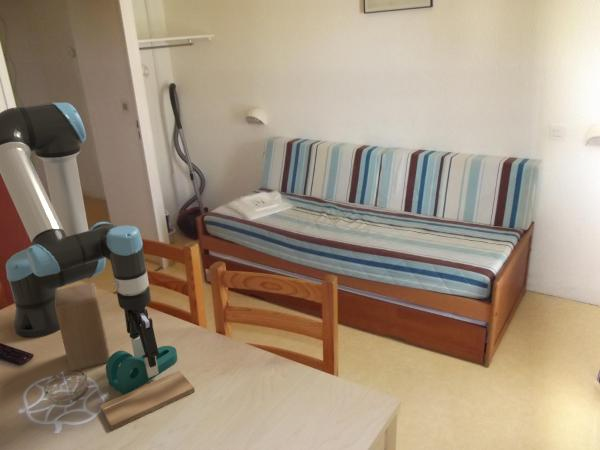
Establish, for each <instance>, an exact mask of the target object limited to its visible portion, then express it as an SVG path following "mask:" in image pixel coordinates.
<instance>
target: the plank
mask: <svg viewBox="0 0 600 450" xmlns="http://www.w3.org/2000/svg"><path fill="white" fill-rule="evenodd" d="M194 392H195V387H194V386H193V384H192V383H190V381H189V380H188V379H187V378H186V377H185V375H184V374H183V373H182V372H181V371H180V370H177V371H175V372H173V373H171V374H168V375H166V376H164V377H161V378H159V379H156V380H154V381H152V382H150V383H148V384H147V383H146V384H145V385H142V386H140V387H138V388H137V389H135V390H133V391H131V392H129V393H127V394H124V395H123V394H122V395H120V396H118V397H115V398H113V399H110V400H109V401H106V402H104V403H102V404H100V405H99V407H100V411H101V412H102V414H103V416H104V418H105V419H106V421H107V423H108V424H109V426H110V428H111V431H113V430H115V429H118V428H120V427H122V426H124V425H126V424H129V423H131V422H133V421H135V420H138V419H140V418H141V417H143V416H146V415H148V414H150V413H152V412H153V411H156V410H158V409H161V408H163V407H165V406H167V405H170V404H171V403H173V402H176V401H177V400H179V399H182V398H184V397H186V396H188V395H190V394H192V393H194Z"/></svg>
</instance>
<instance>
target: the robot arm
mask: <svg viewBox="0 0 600 450" xmlns="http://www.w3.org/2000/svg"><path fill="white" fill-rule="evenodd" d="M86 133H87V132H86V129H85V126H84V124H83V120H82V118H81V116H80V114H79V113H78V111H77V109H76V108H75V107H74V106H73V105H72V104H70V103H69V102H48V103H41V104H34V105H27V106H26V105H25V106H19V107H18V106H16V107H15V106H14V107H11V108H7V109H5V110H3V111H1V112H0V176H1V177H2V180H3V183H4V185H5V187H6V189H7V192H8V194H9V196H10V197H11V200H12V202H13V204H14V207H15V208H16V211H17V213H18V216H19V218H20V220H21V222H22V225H23V227H24V229H25V231H26V234H27V235H28V237H29V240H30V242H31V245H30V246H29V247H27V248H25V249H23V250H20V251H19V252H16V253H14V254H13V255H12V256H11V257H10V258H9V259H7V261H6V263H5V271H6V279H7V281H8V283H9V286H10V290H11V295H12V299H13V302H14V306H15V313H14V322H13V327H14V331H15V333H16V335H18V336H19V337H23V338H30V339H32V338H38V337H45V336H47V335H50V334H53V333H55V332H57V331H60V327H59V323H58V318H57V314H56V310H55V292H56V291H57V290H58V289H59V288H62V287H64V286H65V287H66V286H68V285H71V284H75V283H76V282H81V281H83V280H86V279H88V280H89V279H92V278H93V277H95V276H98V275H100V274H101V273H103V271H104V270H105V267H106V260H109V261H110V264H111V268H112V274H113V278H114V281H113V282H112V285H113V286H115V289H116V292H117V293H116V295H117V302H118V306H119V307H120V308H121V309H122V310H123V311H124V318H125V327H126V332H127V334H129V337H130V340H131V345H132V352H133V357H136V358H138V359H140V358H141V357H143V358H144V360H145V366H146V372H147V377H148V378H150V377H152V376H155V375H156V376H158V375H159V372H158V366H157V360H156V355H159V352H158V345H157V340H156V336H155V331H154V324H153V323H154V322H153V319H152V317H150V318H149V313H148V310H147V309H146V307H147V306H148V305H149V304H150V302H151V301H152V297H151V290H150V287H149V285H150V282H149V276H148V270H147V266H146V261H145V260H146V259H145V253H144V247H143V244H144V243H143V239H142V236H141V233H140V230H139V228H138V227H137V226H134V225H128V224H126V225H115V224H113V223H110V222H109V221H99V222H96V223H95V224H93V225H92V226H91V227H90V228H89V225H88V220H87V213H86V207H85V202H84V197H83V191H82V184H81V179H80V174H79V168H78V167H79V166H78V163H77V162H78V161H77V156H78V155H79V154H80V153H81V146H80V145H81V144H83V143H85V142H86V140H87V134H86ZM32 152H34V154H35V157H36V158H38V159H40V160H41V161H42V163H43V168H44V173H45V177H46V183H47V188H48V193H47V192H46V189H45V187H44V184H43V183H42V181H41V179H40V177H39V175H38V172H37V170H36V169H35V166H34V165H33V162H32V160H31V158H30V157H31V155H32ZM48 194H49V195H48ZM157 374H158V375H157ZM156 376H155V377H156Z"/></svg>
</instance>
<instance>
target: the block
mask: <svg viewBox="0 0 600 450" xmlns="http://www.w3.org/2000/svg"><path fill="white" fill-rule="evenodd" d="M55 310H56V314H57V318H58V323H59V327H60V329H59V331H60V334H61V339H62V343H63V346H64V350H65V355H66V358H67V362H68V363H67V365H68V368H69V369H70V371H72V372H75V371H79V370H83V369H87V368H90V367H94V366H99V365H102V364H107V361H108V359H109V358H110V357H111V355H110V351H109V345H108V341H107V334H106V329H105V325H104V321H103V320H104V319H103V315H102V311H101V306H100V300H99V296H98V290H97V287H96V284H95V283H94V282H89V283H84V284H79V285H74V286H69V287H65V288H60V289H59V288H58V289H57V291H56V292H55Z"/></svg>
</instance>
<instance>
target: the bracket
mask: <svg viewBox="0 0 600 450" xmlns="http://www.w3.org/2000/svg"><path fill="white" fill-rule="evenodd" d="M157 348H158V352H159V355H156V360H157V366H158V372H159V374H161V373H162V372H164V371H166V370H167V369H169V368H170V367H172V366H174V365H175V363H176V362H177V361H178V353H177V349H176V348H175V347H174V346H172V345H162V346H159V347H158V346H157ZM105 373H106V377H107V381H108V382H107V383H108V386H109V387H111V388H112V389H114V390H115V391H117V392H118V393H121V394H122V395H124V394H127V393H129V392H131V391H133V390H136V389H138V388H140V387H142V386H144V384H147V382H149V381H150V380H152V379H154V378H155V377H156V376H158V375H159V374H157V375H155V376H152V377H150V378H148V377H147V372H146V366H145V360H144V358H143V357H141V358H140V359H138V358H136V357H134V355H132V354H131V353H129V352H127V351H125V350H117V351H115V352H114V353H112V354H110V358H109V359H108V361H107V362H106V363H105Z"/></svg>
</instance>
